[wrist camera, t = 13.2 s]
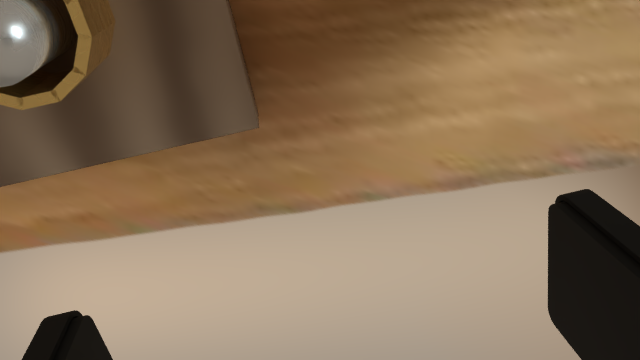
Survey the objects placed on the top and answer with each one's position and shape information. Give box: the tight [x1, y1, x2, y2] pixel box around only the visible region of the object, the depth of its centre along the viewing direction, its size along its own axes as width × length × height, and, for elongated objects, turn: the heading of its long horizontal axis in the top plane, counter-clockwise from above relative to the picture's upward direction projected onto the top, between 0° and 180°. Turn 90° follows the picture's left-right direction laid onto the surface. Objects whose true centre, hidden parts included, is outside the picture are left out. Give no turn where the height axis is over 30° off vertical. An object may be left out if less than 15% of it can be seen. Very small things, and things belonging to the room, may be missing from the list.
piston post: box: [0, 0, 78, 87], centre depth 26 cm, size 4×4×7 cm
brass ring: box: [0, 0, 116, 110], centre depth 27 cm, size 7×7×5 cm
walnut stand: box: [0, 0, 259, 187], centre depth 31 cm, size 20×14×3 cm
